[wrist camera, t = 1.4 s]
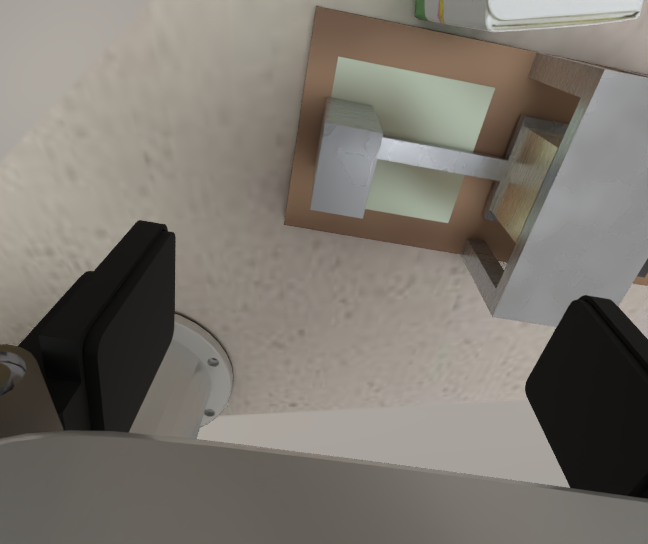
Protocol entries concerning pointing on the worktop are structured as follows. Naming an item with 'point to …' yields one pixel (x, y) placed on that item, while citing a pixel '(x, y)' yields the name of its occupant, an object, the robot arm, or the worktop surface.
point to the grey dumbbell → (428, 163)
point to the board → (419, 126)
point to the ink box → (526, 13)
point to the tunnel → (578, 203)
